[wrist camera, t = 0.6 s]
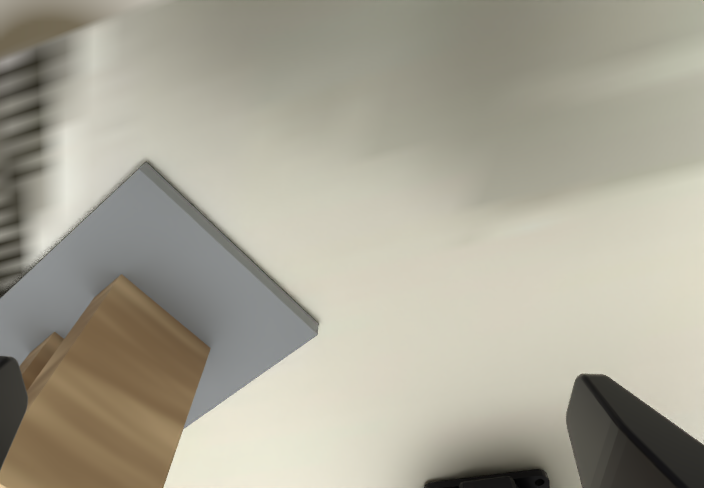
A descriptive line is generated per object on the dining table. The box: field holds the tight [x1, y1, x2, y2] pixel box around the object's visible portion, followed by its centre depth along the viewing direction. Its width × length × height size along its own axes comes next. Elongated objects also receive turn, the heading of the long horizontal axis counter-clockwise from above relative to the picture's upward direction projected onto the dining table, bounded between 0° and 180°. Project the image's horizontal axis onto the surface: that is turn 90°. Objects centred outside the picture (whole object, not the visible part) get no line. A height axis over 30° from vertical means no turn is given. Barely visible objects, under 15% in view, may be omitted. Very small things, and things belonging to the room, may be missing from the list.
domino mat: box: [0, 162, 319, 429], centre depth 28 cm, size 28×10×1 cm, turn 130°
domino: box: [0, 274, 211, 488], centre depth 20 cm, size 2×5×10 cm, turn 40°
